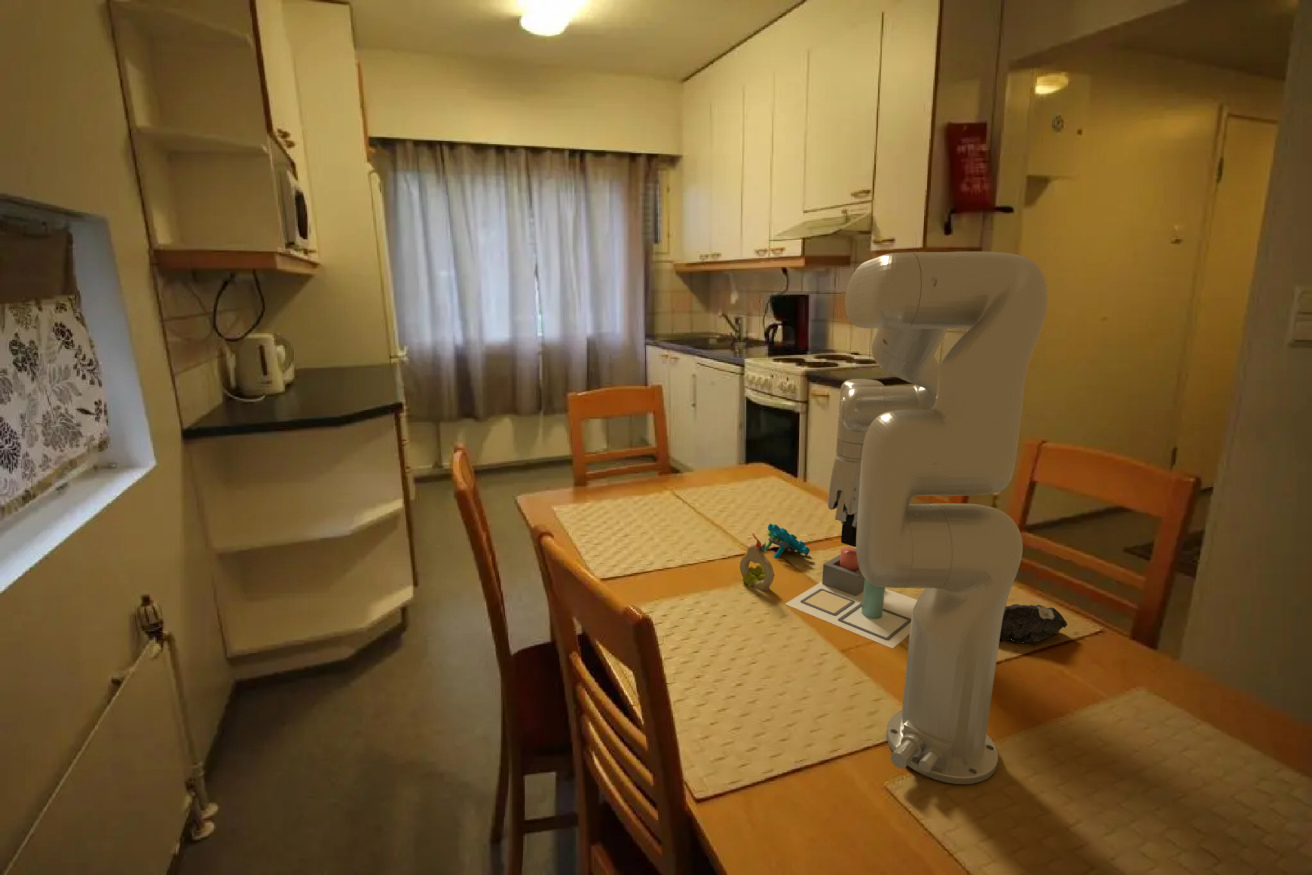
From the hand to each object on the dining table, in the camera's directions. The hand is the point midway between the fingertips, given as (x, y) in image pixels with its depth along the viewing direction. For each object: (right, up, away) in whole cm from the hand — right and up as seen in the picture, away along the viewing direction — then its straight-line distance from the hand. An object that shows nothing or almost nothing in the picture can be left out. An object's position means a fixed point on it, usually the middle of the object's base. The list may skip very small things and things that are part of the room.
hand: (850, 543), depth 121 cm
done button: (0, -6, +1) cm, 6 cm away
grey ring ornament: (-16, -9, +3) cm, 18 cm away
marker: (+1, -10, -9) cm, 14 cm away
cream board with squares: (0, -10, -6) cm, 12 cm away
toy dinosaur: (-9, -5, +16) cm, 19 cm away
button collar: (0, -8, +2) cm, 8 cm away
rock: (+23, -13, -14) cm, 30 cm away
